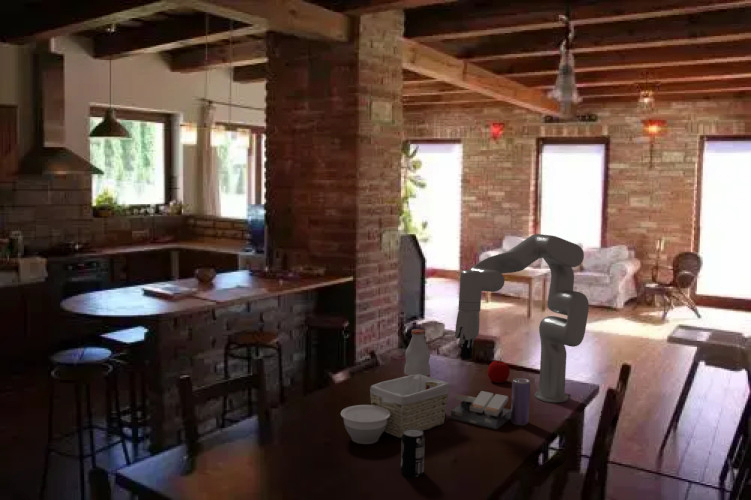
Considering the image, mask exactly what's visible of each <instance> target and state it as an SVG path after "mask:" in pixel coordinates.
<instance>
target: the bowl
mask: <svg viewBox="0 0 751 500" xmlns="http://www.w3.org/2000/svg"><path fill="white" fill-rule="evenodd" d="M340 416H341V417H342V418H343V424H344V428H345V430H346V432H347V434H348V435H349V436H350V437H351V441H352V442H354V443H356V444H361V445H371V444H376V443H377V442H378V441H379V440H380V437H381V436H382V434H383V433H384V429H385V428H386V424H387V419H388V418H389V417H390V412H389V411H388V410H387V409H385V408H383V407H379V406H374V405H371V404H357V405H352V406H351V405H350V406H347V407H345V408H343V409H342V410H341V412H340Z"/></svg>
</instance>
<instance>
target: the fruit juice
mask: <svg viewBox="0 0 751 500" xmlns="http://www.w3.org/2000/svg"><path fill="white" fill-rule="evenodd" d="M425 335H426V331H425V329H420V328H414V329H411V336H412V337H411V339H410V342H409V344H408V346H407V348H406V349H405V363H404V376H403V377H405V376H410V375H417V374H421V375H424V376H427V377H431V365H430V363H429V362H430V358H431V352H430V349H429V347H428V345H427V343H426V338H425ZM430 388H431V386H428V385H426V390H427V389H430Z"/></svg>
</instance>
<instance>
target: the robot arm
mask: <svg viewBox="0 0 751 500" xmlns="http://www.w3.org/2000/svg"><path fill="white" fill-rule="evenodd" d="M584 258H585V254H584V249H583V248H582V247H581V246H580V245H579V244H576V243H574V242H571V241H569V240H567V239H564V238H561V237H559V236H555V235H549V234H548V235H547V234H541V233H537V234H535V233H534V234H532V235H530V236H528V237H526V239H525V238H524V240H522V241H521V242H520V243H518V244H517V245H515V246H513V247H512V248H511V249H509V250H507V251H504V252H501V253H500V252H499V253H498V254H495V255H492V256H489V257H487V258H484V259H482V260H480V261H479V262H477V264H474V265H473V266H472V267H471V268H470V269H466V270H464V269H463V270H461V272H460V274H459V275H460V277H459V278H460V280H459V292H458V293H459V295H458V297H459V298H458V309H457V310H458V312H457V316H456V321H455V323H456V324H455V330H454V337H455V339H457V340H458V339H459V341H458V343H459V344H460V345H461V356H460V357H461V359H464V360H471V359H472V357H473V346H474V341H475V340H476V338H477V337H479V334H480V312H481V308H482V307H481V306H482V305H481V304H482V293H483V292H489V293H496V292H498V291H500V290H501V289H502V288H503V287H504V285H505V282H506V281H505V277H504V275H503V274H511V273H512V274H513V273H518V272H522V271H523V270H525V269H527V268H528V267H530V266H531V265H532V264H534V263H535V262H536V261H537V260H540V259H543V260H544V261H545V263H546V264H547V266H548V268H549V271H550V275H551V276H550V284H549V290H548V296H547V308H548V310H550V311H551V312H552V313H556V314H559V315H564V316H567V318H564V317H561V316H555V315H548V316H545V317H544V318H542V320H541V321H540V323H539V327H538V328H539V329H538V330H539V339H540V360H539V361H540V363H539V387H538V390H536V391H535V393H534V397H535V398H536V399H537V400H539V401H542V402H547V403H558V404H559V403H565V402H567V401H569V395H568V394H567V393H566V391H565V389H566V388H565V387H566V374H567V372H566V370H567V348H566V346H567V347H573V348H574V347H578V346H580V345H581V344H582V342H583V340H584V338H585V334H586V329H587V328H586V327H587V323H588V322H587V321H588V317H589V310H590V304H589V300H588V298H587V295H585V294H584V293H582V292H580V291H576V290H574V286H575V285H574V284H575V274H574V269H573V268H576V267H579V266H580V265H581V264H582V263H583V261H584Z"/></svg>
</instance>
